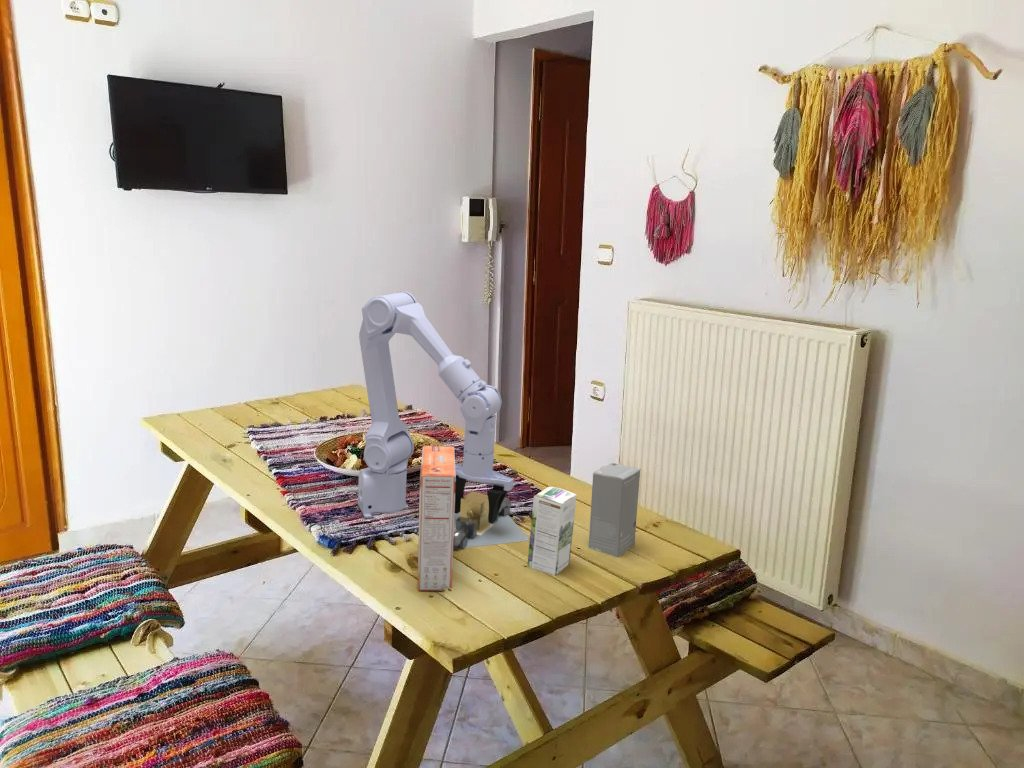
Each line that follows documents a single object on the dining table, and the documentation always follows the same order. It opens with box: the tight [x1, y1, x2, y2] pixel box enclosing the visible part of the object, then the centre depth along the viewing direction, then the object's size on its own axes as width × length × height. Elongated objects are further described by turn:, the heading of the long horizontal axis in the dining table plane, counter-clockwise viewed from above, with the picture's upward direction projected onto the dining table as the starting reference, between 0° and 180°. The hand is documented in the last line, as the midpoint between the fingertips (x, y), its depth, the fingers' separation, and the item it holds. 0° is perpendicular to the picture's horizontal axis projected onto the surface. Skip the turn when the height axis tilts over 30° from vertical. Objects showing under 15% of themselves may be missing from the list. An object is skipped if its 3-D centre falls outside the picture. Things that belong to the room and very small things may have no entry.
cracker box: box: [417, 445, 456, 592], centre depth 136 cm, size 14×6×21 cm, turn 5°
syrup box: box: [526, 486, 578, 576], centre depth 141 cm, size 6×6×14 cm
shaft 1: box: [453, 517, 477, 550], centre depth 148 cm, size 7×4×3 cm, turn 161°
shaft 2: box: [491, 497, 512, 524], centre depth 161 cm, size 7×4×3 cm, turn 146°
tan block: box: [460, 490, 490, 533], centre depth 155 cm, size 5×4×6 cm
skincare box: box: [588, 462, 641, 558], centre depth 150 cm, size 8×7×16 cm
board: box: [453, 512, 530, 550], centre depth 156 cm, size 16×16×1 cm
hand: (475, 516), depth 155 cm, fingers open, 7 cm apart
